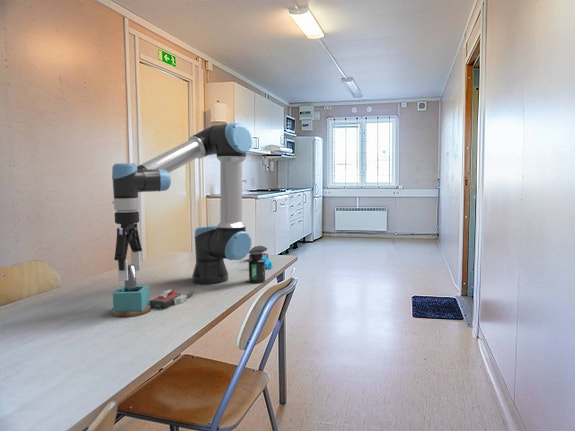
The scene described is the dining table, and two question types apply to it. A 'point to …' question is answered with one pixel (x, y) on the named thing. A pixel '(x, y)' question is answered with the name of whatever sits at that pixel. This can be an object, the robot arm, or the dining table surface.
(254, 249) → the dark mushroom
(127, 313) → the post base
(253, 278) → the supplement bottle
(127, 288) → the post
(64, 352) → the dining table surface
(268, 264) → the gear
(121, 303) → the collar
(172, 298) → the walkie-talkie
